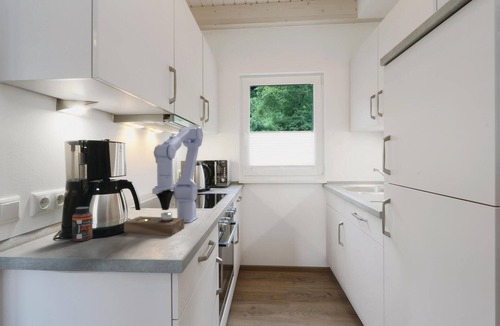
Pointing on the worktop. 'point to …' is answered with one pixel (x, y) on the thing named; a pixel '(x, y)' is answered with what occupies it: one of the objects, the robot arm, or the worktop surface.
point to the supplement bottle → (82, 224)
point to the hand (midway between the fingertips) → (165, 209)
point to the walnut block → (153, 226)
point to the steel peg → (166, 217)
